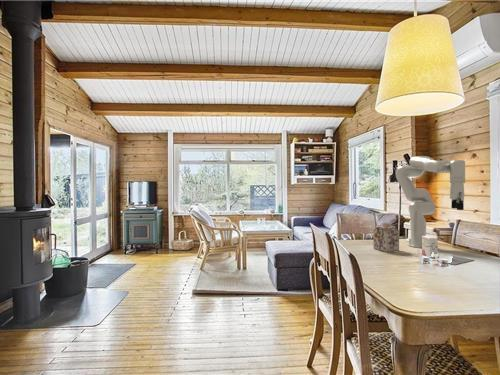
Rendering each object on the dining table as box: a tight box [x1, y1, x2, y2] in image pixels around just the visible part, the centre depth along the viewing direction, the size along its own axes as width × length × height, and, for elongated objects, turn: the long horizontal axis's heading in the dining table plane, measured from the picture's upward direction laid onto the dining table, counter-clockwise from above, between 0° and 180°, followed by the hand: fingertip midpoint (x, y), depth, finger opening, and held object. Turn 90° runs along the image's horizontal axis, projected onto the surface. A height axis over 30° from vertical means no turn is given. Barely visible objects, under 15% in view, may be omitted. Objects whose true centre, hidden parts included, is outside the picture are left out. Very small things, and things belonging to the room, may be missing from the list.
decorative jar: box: [372, 222, 400, 253], centre depth 196 cm, size 12×12×18 cm
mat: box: [449, 255, 475, 266], centre depth 167 cm, size 14×20×1 cm
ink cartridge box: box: [421, 230, 439, 257], centre depth 177 cm, size 9×5×15 cm, turn 179°
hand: (457, 209), depth 175 cm, fingers open, 9 cm apart
